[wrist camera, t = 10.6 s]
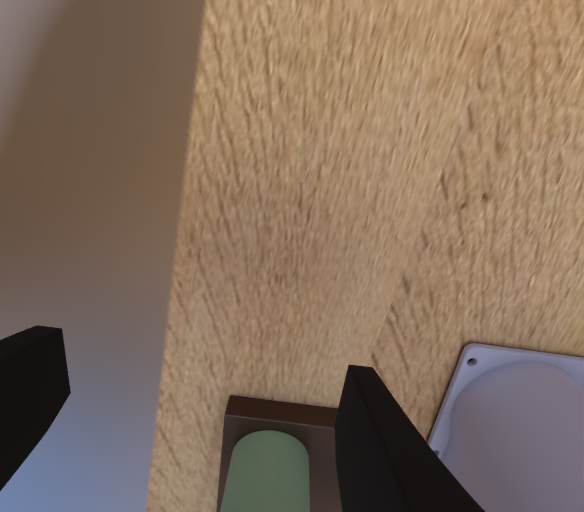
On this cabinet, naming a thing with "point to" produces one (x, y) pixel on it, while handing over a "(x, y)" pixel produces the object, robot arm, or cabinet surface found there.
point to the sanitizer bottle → (267, 474)
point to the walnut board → (298, 423)
